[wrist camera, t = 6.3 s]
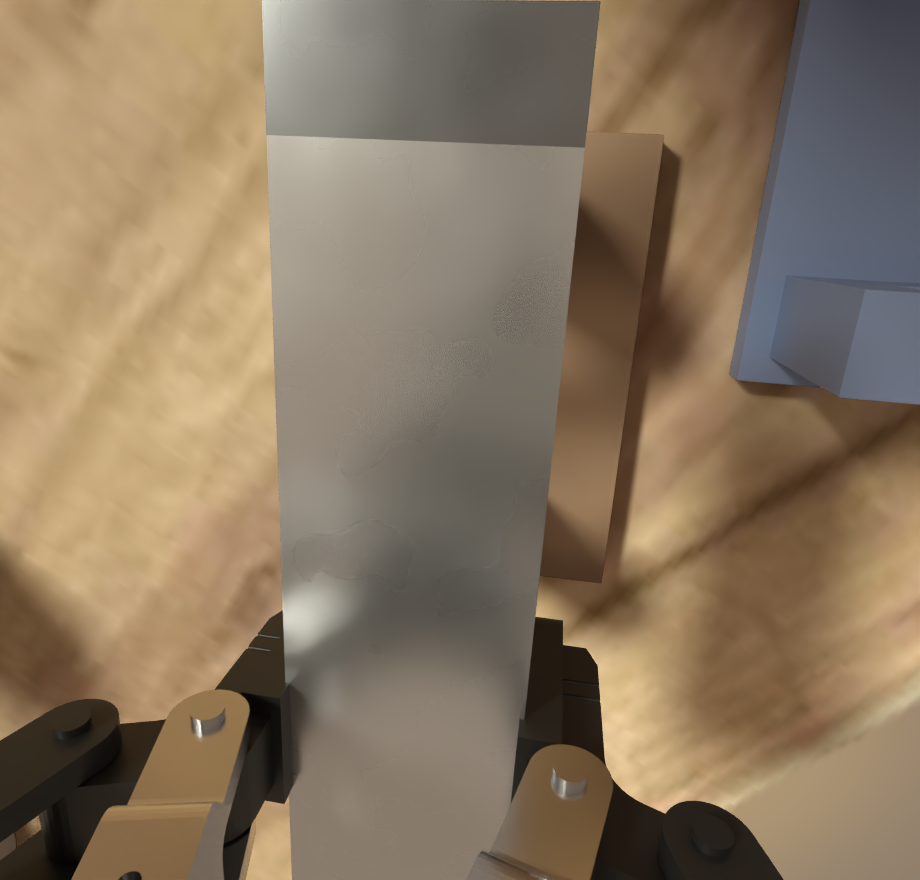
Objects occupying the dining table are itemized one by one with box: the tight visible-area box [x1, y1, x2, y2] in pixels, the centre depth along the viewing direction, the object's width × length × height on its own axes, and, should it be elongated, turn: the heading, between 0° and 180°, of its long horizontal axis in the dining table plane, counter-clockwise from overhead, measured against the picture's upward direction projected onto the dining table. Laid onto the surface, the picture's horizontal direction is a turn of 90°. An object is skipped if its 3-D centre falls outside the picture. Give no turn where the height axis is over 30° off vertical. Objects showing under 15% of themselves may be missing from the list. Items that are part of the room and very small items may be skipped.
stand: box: [540, 132, 664, 583], centre depth 23 cm, size 18×10×8 cm, turn 177°
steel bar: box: [262, 0, 600, 880], centre depth 12 cm, size 16×4×4 cm, turn 177°
